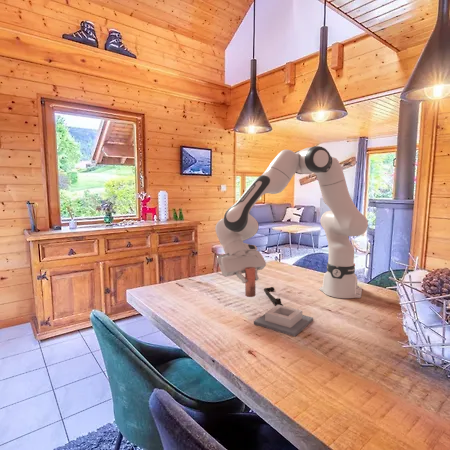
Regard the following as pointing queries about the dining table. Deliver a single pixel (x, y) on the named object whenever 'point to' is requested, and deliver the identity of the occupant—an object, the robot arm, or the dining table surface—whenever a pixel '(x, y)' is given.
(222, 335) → the dining table surface
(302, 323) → the socket board
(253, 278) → the pin
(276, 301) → the black hooked rod
